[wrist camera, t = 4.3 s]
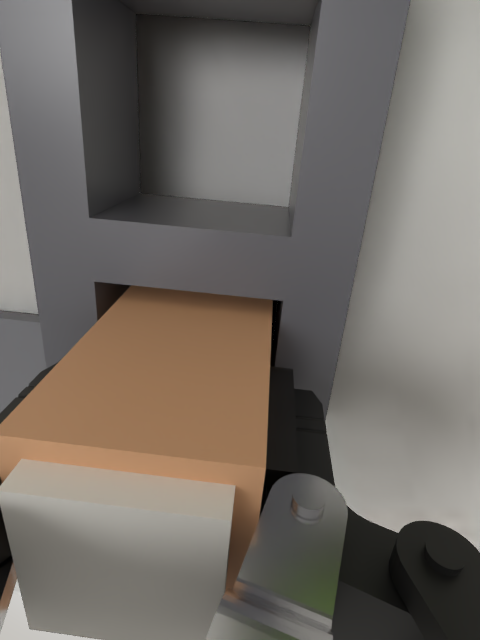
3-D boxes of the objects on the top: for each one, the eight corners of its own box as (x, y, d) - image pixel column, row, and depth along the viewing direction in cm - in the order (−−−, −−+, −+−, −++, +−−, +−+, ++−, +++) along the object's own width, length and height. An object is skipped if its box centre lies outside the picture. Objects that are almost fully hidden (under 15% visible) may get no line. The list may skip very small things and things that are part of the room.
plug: (157, 359, 16) (10, 639, 7) (156, 258, 14) (-39, 465, 5) (262, 370, 16) (240, 673, 7) (273, 269, 14) (264, 503, 5)
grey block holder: (107, 388, 17) (60, 459, 13) (74, -56, 11) (-29, -147, 7) (304, 410, 16) (311, 490, 13) (381, -37, 10) (435, -123, 7)
